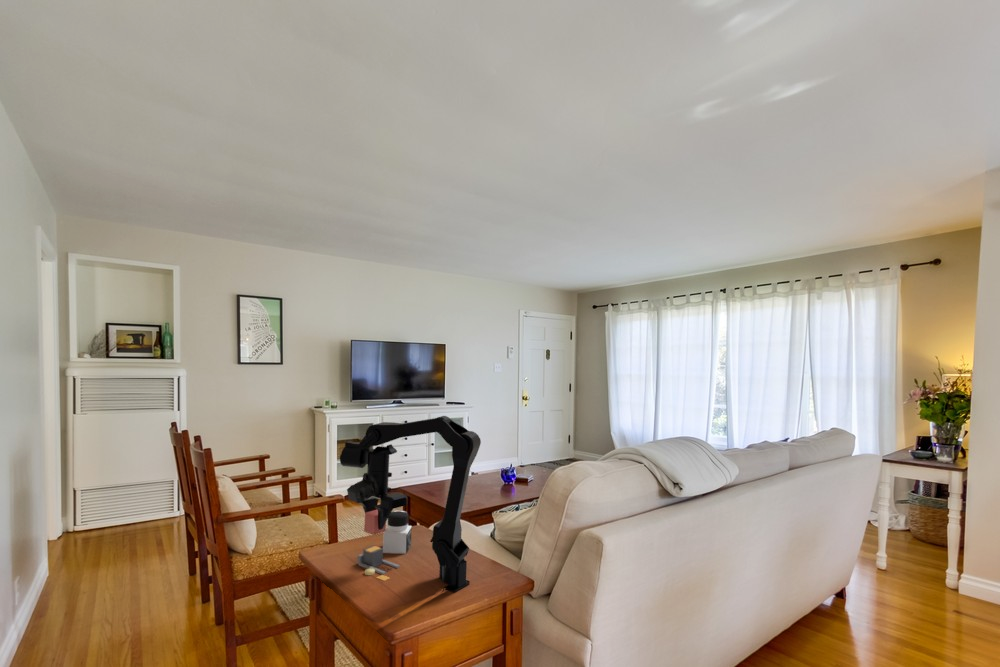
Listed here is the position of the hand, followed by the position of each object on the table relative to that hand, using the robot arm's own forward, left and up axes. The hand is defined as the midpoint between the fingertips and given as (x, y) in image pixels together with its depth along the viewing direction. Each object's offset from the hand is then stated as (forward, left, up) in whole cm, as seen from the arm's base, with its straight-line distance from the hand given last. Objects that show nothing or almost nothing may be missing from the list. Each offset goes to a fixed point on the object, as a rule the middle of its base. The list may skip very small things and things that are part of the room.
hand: (375, 527), depth 135 cm
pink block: (0, 0, -1) cm, 1 cm away
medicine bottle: (+6, -14, -13) cm, 20 cm away
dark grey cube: (+3, -2, -11) cm, 11 cm away
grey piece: (-1, 0, -12) cm, 12 cm away
